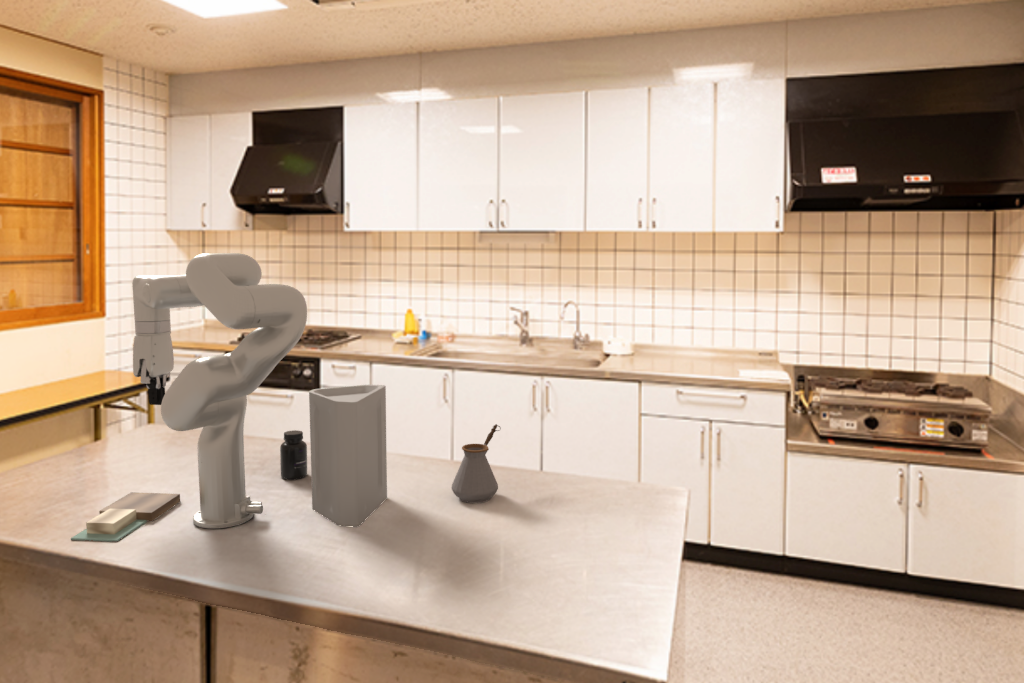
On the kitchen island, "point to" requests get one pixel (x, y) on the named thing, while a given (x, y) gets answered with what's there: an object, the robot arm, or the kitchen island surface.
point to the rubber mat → (109, 537)
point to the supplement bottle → (293, 456)
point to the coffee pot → (475, 474)
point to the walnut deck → (146, 504)
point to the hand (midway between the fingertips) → (157, 403)
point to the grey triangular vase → (348, 452)
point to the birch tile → (111, 521)
